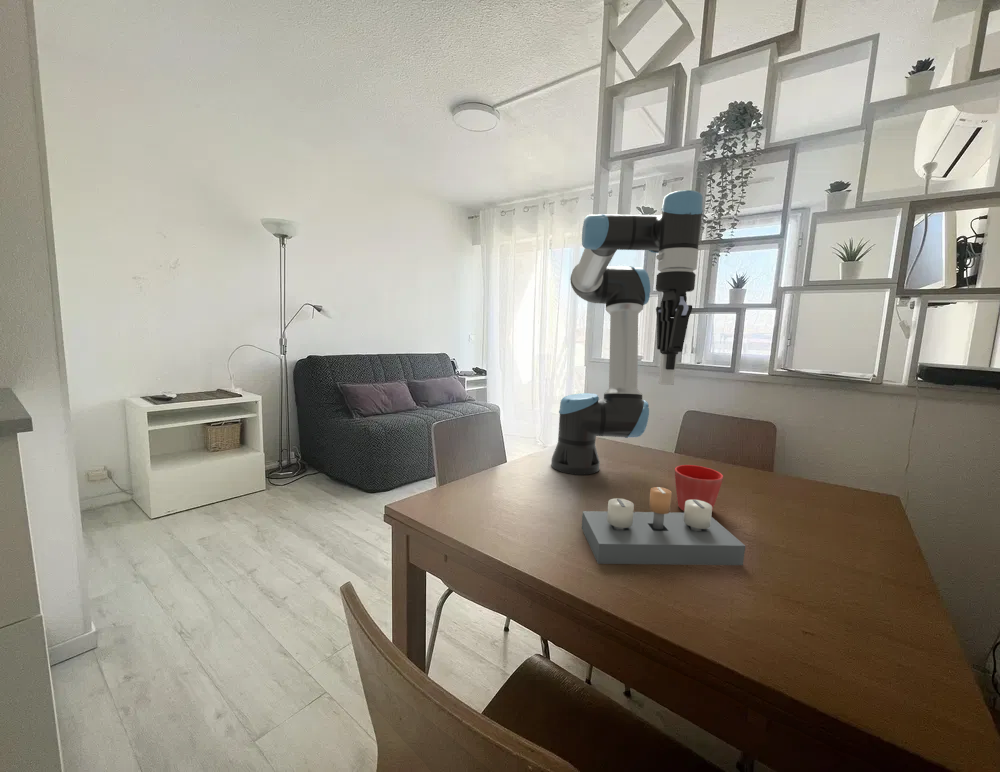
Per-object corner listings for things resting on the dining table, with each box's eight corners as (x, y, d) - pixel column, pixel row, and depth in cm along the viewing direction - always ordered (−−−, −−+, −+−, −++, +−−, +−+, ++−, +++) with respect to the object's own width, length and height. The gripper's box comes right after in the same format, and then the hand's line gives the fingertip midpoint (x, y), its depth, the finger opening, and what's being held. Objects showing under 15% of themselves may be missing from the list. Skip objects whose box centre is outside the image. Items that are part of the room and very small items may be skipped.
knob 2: (677, 534, 89) (681, 498, 88) (700, 534, 89) (704, 498, 88) (688, 546, 84) (692, 508, 83) (713, 546, 84) (717, 509, 83)
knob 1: (603, 533, 89) (605, 497, 88) (626, 533, 89) (629, 497, 88) (609, 545, 84) (612, 507, 83) (634, 545, 84) (637, 507, 83)
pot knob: (644, 522, 88) (647, 486, 87) (663, 522, 88) (666, 486, 87) (652, 531, 84) (655, 493, 83) (671, 532, 84) (675, 494, 83)
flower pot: (725, 521, 99) (729, 481, 98) (676, 515, 101) (679, 476, 100) (712, 502, 109) (716, 466, 108) (667, 498, 111) (671, 462, 110)
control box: (581, 528, 93) (582, 511, 93) (705, 529, 94) (707, 513, 94) (597, 563, 79) (599, 543, 79) (743, 565, 80) (745, 545, 80)
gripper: (647, 274, 94) (638, 379, 97) (671, 267, 81) (660, 388, 85) (680, 275, 94) (670, 380, 97) (709, 268, 81) (697, 389, 85)
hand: (665, 384), depth 91 cm, fingers closed
